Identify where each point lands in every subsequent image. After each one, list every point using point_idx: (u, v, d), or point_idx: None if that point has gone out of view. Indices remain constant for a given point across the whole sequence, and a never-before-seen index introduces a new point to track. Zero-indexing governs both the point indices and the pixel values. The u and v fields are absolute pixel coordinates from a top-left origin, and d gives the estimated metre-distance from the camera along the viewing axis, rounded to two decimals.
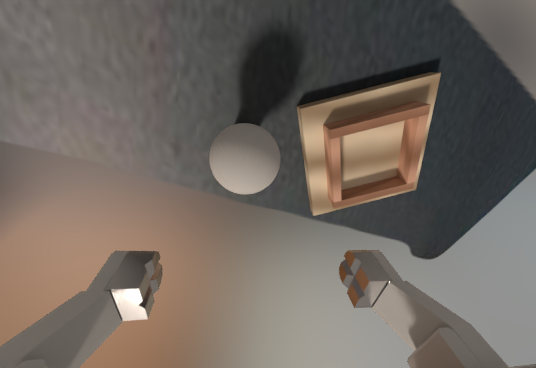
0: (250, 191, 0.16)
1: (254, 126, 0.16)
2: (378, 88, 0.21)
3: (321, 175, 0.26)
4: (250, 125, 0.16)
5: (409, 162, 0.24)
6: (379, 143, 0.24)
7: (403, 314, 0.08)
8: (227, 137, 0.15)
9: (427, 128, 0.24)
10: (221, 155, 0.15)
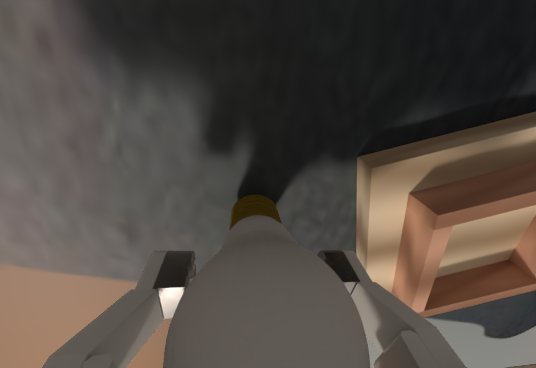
0: None
1: (300, 281, 0.05)
2: (529, 125, 0.11)
3: (387, 266, 0.15)
4: (288, 279, 0.05)
5: None
6: (499, 217, 0.14)
7: (371, 316, 0.07)
8: (214, 355, 0.04)
9: None
10: None
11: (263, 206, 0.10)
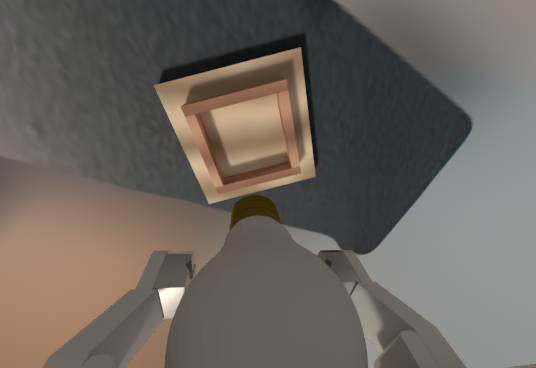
0: None
1: (300, 280, 0.05)
2: (236, 64, 0.20)
3: (202, 159, 0.25)
4: (288, 278, 0.05)
5: (287, 144, 0.23)
6: (256, 124, 0.23)
7: (371, 316, 0.07)
8: (216, 352, 0.04)
9: (306, 108, 0.23)
10: None
11: (263, 206, 0.10)
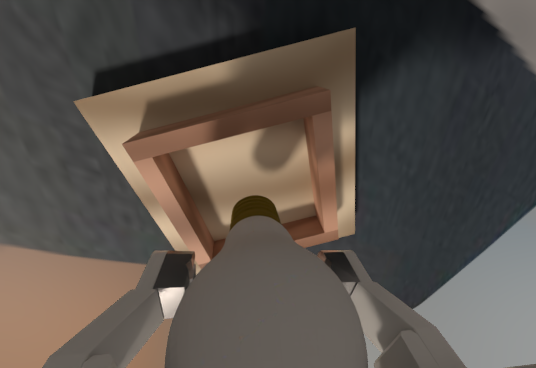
0: None
1: (300, 280, 0.05)
2: (232, 60, 0.11)
3: None
4: (288, 278, 0.05)
5: (320, 198, 0.13)
6: (267, 164, 0.14)
7: (371, 316, 0.07)
8: (215, 352, 0.04)
9: (352, 137, 0.13)
10: None
11: (263, 207, 0.10)
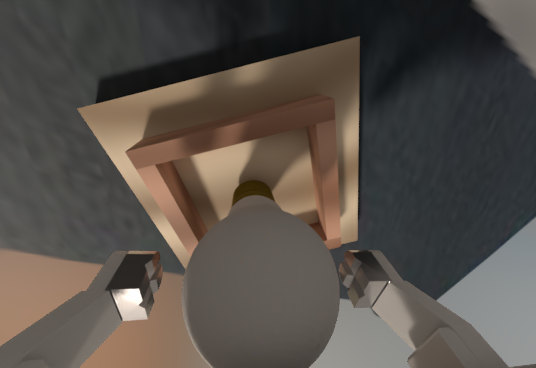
0: None
1: (286, 229, 0.07)
2: (236, 68, 0.11)
3: None
4: (277, 227, 0.07)
5: (323, 205, 0.13)
6: (270, 171, 0.14)
7: (403, 314, 0.08)
8: (223, 273, 0.06)
9: (355, 144, 0.13)
10: (204, 323, 0.06)
11: (260, 189, 0.12)
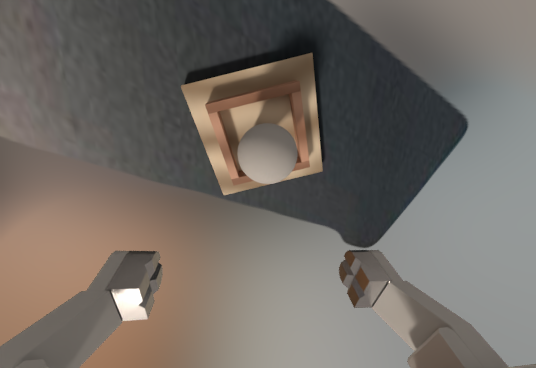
0: (272, 180, 0.19)
1: (277, 125, 0.19)
2: (254, 67, 0.23)
3: (220, 153, 0.27)
4: (273, 125, 0.19)
5: (298, 139, 0.25)
6: (270, 122, 0.26)
7: (403, 314, 0.08)
8: (256, 134, 0.18)
9: (315, 108, 0.25)
10: (250, 149, 0.18)
11: None
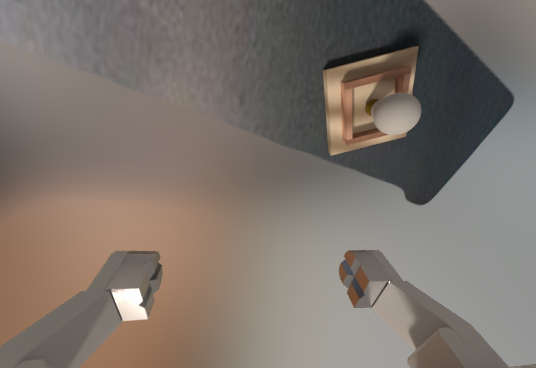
0: (404, 130, 0.29)
1: None
2: (377, 56, 0.33)
3: (338, 121, 0.37)
4: (406, 93, 0.29)
5: None
6: (378, 97, 0.36)
7: (403, 314, 0.08)
8: (399, 98, 0.28)
9: (411, 86, 0.35)
10: (396, 107, 0.28)
11: None
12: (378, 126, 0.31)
